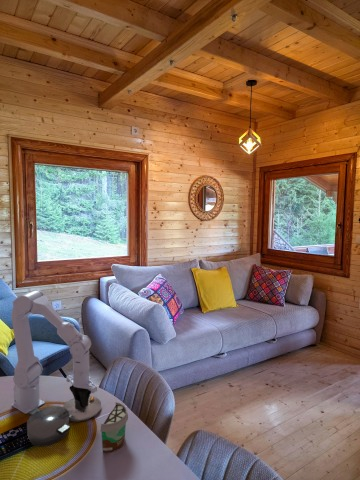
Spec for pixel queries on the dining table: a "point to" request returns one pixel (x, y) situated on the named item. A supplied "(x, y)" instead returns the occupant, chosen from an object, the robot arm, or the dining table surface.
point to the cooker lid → (82, 409)
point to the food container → (114, 429)
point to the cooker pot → (47, 425)
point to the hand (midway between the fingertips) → (81, 404)
